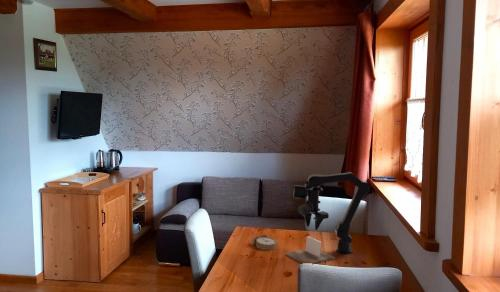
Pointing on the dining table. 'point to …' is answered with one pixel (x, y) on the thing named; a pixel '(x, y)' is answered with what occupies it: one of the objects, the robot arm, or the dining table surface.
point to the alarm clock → (265, 242)
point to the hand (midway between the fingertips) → (312, 228)
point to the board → (309, 256)
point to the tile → (313, 246)
